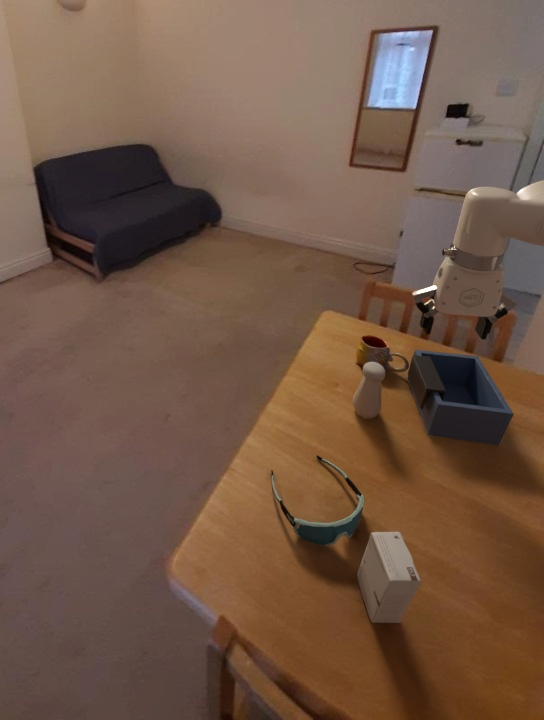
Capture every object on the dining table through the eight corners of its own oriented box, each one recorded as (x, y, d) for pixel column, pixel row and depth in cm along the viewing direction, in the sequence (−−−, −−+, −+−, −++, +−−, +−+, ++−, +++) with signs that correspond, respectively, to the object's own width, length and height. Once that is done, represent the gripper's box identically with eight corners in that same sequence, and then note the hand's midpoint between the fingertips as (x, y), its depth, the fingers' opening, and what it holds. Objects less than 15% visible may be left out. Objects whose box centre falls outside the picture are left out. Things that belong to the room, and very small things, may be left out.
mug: (350, 362, 103) (354, 341, 100) (362, 348, 107) (366, 328, 104) (399, 386, 95) (405, 365, 92) (410, 371, 99) (416, 350, 96)
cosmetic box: (355, 574, 62) (367, 529, 57) (384, 574, 62) (399, 528, 57) (371, 626, 57) (387, 581, 51) (403, 626, 57) (422, 580, 51)
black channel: (424, 376, 92) (430, 356, 90) (439, 411, 84) (446, 391, 81) (407, 374, 93) (412, 354, 91) (420, 408, 84) (426, 388, 82)
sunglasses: (304, 561, 64) (304, 538, 62) (261, 482, 78) (261, 462, 76) (378, 531, 67) (381, 509, 66) (325, 461, 81) (326, 441, 79)
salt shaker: (370, 427, 85) (381, 381, 80) (345, 410, 90) (354, 366, 84) (384, 412, 89) (395, 367, 83) (359, 396, 93) (368, 353, 87)
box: (467, 385, 94) (478, 356, 91) (499, 445, 81) (513, 414, 77) (407, 378, 97) (414, 349, 93) (427, 435, 83) (438, 404, 79)
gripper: (428, 263, 71) (409, 340, 78) (543, 269, 67) (512, 350, 74) (415, 244, 77) (399, 317, 85) (519, 249, 74) (493, 324, 81)
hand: (452, 332), depth 80 cm, fingers open, 9 cm apart
